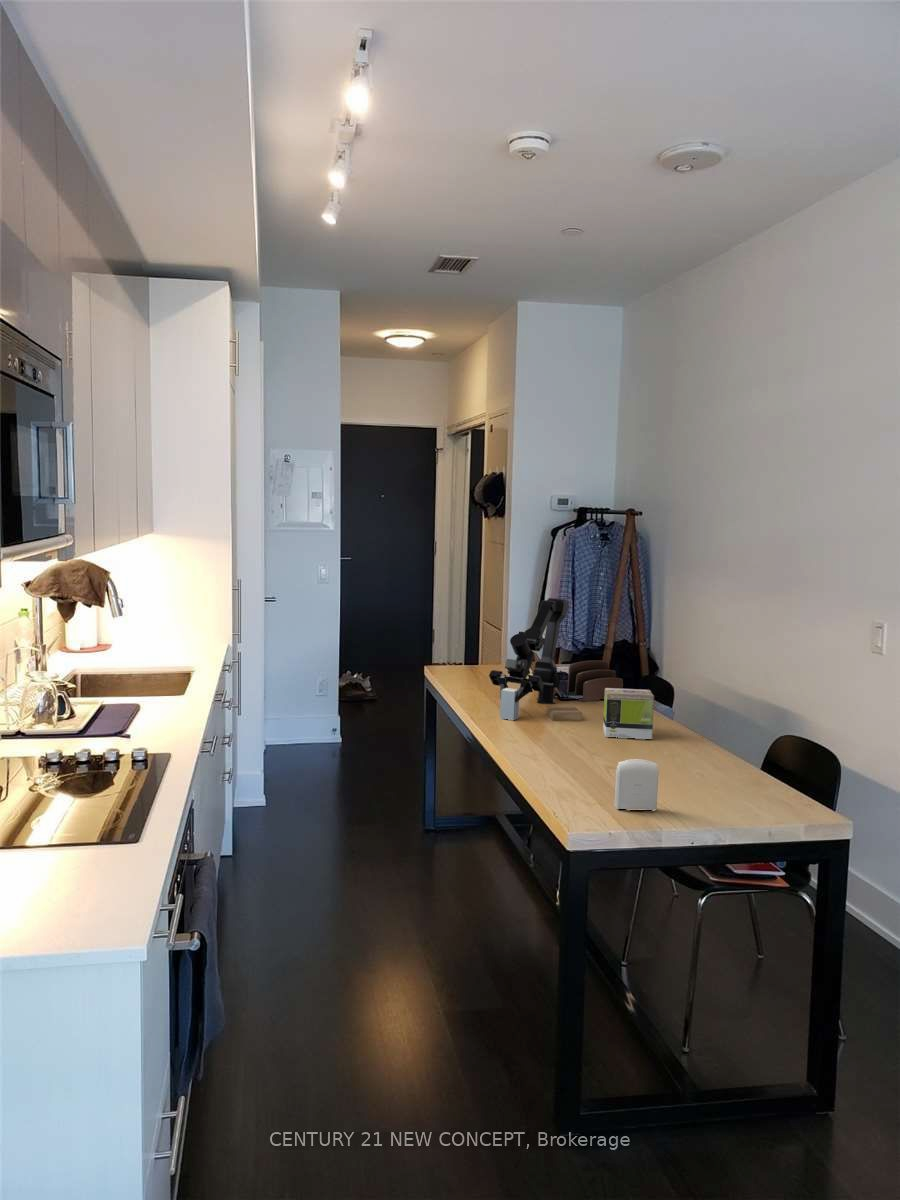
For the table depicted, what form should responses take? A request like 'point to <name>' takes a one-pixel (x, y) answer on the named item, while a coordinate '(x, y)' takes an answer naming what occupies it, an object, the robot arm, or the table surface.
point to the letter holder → (592, 679)
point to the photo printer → (636, 784)
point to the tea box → (628, 713)
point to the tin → (509, 704)
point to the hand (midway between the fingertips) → (508, 700)
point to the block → (563, 713)
